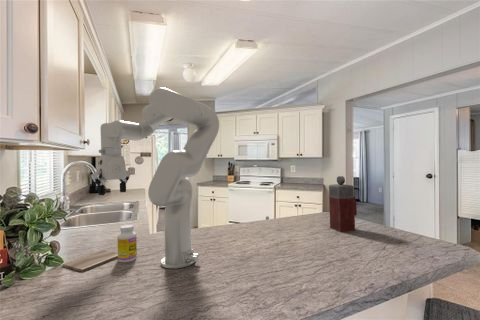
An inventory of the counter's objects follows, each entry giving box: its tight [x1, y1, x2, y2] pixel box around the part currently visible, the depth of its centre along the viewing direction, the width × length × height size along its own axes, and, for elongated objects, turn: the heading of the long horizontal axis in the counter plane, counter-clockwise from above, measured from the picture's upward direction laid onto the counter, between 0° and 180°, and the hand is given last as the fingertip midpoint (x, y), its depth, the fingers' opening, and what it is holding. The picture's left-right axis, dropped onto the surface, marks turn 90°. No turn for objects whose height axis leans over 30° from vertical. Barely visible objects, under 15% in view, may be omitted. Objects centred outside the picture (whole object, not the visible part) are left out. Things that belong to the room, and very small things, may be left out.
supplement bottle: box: [117, 224, 138, 263], centre depth 94 cm, size 7×7×13 cm
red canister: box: [328, 175, 358, 233], centre depth 130 cm, size 9×11×28 cm
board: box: [62, 249, 118, 273], centre depth 94 cm, size 12×16×1 cm
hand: (112, 193), depth 103 cm, fingers open, 9 cm apart
